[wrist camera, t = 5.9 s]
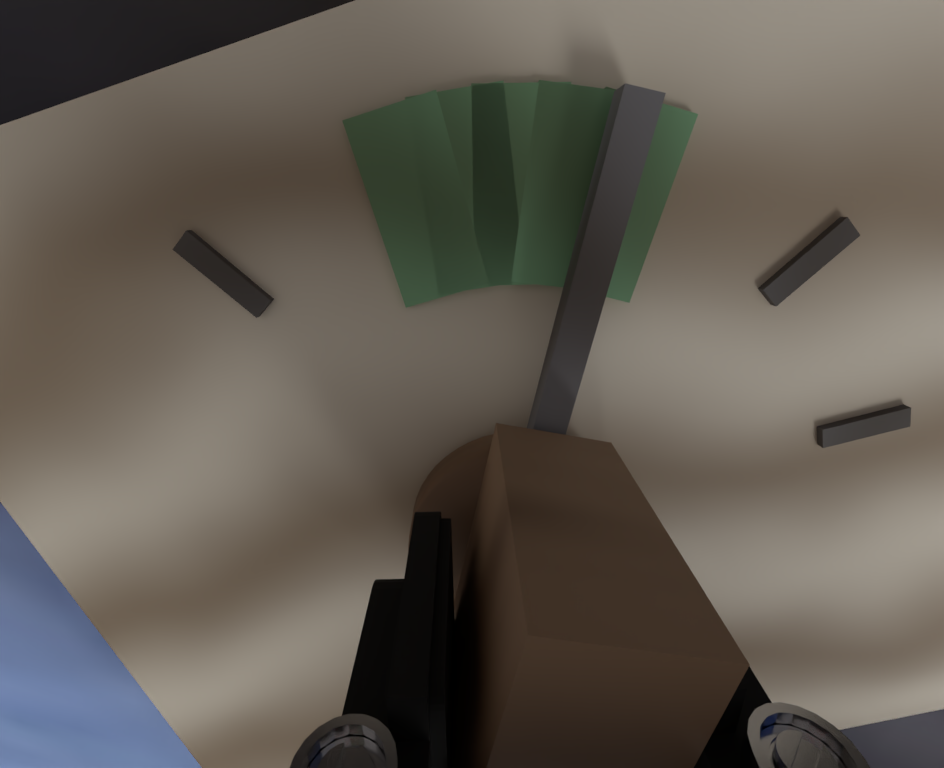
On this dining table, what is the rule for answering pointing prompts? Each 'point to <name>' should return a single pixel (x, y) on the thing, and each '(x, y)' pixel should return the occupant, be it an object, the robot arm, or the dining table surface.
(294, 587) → the dial plate
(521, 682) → the dial pointer knob
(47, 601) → the dining table surface
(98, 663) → the dining table surface
